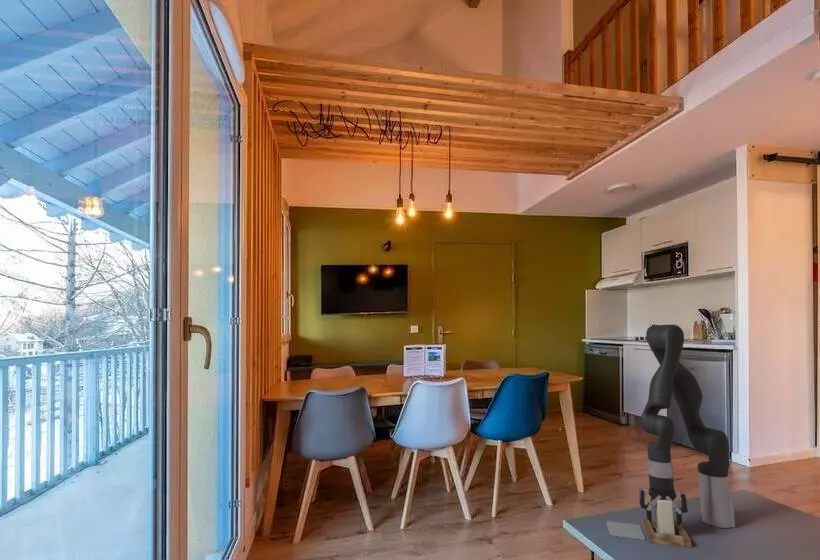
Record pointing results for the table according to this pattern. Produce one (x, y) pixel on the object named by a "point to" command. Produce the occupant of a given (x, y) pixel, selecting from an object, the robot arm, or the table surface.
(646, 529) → the frame
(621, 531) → the slate mat
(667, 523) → the skincare box
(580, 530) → the table surface
